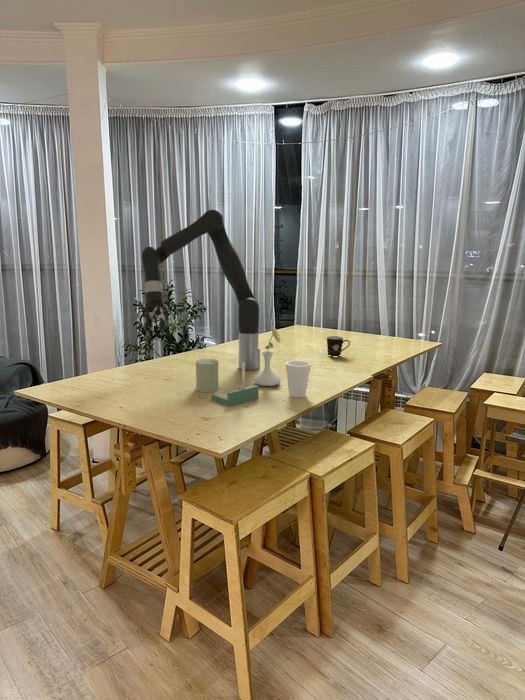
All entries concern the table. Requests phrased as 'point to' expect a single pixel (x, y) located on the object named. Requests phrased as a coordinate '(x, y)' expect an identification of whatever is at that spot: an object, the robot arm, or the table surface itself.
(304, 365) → the foam cup
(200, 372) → the can
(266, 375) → the flower in vase
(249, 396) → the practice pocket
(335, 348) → the coffee mug
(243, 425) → the table surface
